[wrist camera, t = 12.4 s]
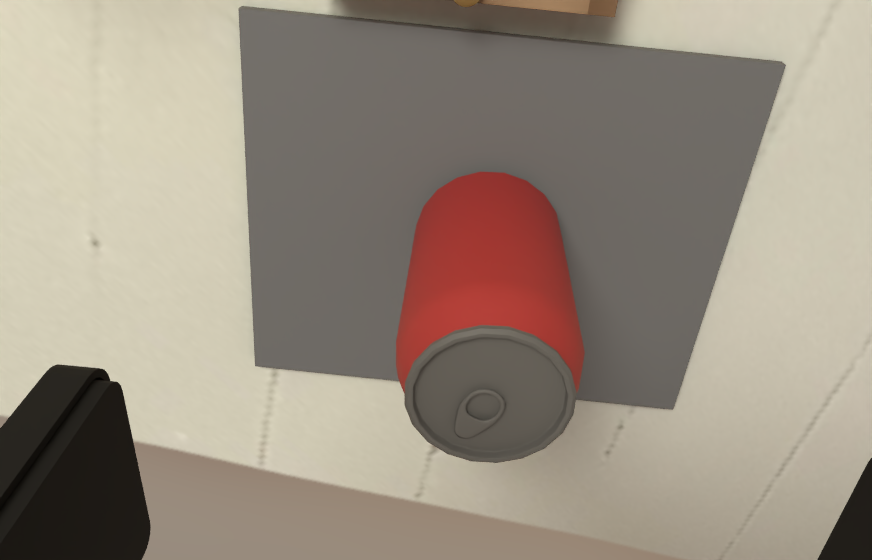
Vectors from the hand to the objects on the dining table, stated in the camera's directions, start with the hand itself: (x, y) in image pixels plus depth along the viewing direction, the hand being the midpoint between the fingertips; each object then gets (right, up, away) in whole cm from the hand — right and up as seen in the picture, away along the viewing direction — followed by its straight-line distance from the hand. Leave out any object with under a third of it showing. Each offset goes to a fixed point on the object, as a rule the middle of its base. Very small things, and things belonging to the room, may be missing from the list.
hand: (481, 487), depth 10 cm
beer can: (+2, +5, +25) cm, 25 cm away
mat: (+2, +5, +25) cm, 26 cm away
